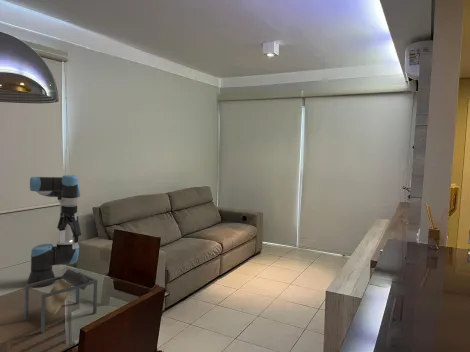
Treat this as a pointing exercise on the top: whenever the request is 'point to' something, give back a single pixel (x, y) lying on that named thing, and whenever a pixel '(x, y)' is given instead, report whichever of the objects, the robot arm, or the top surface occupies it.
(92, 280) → the stand
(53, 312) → the trapdoor
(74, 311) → the top surface
